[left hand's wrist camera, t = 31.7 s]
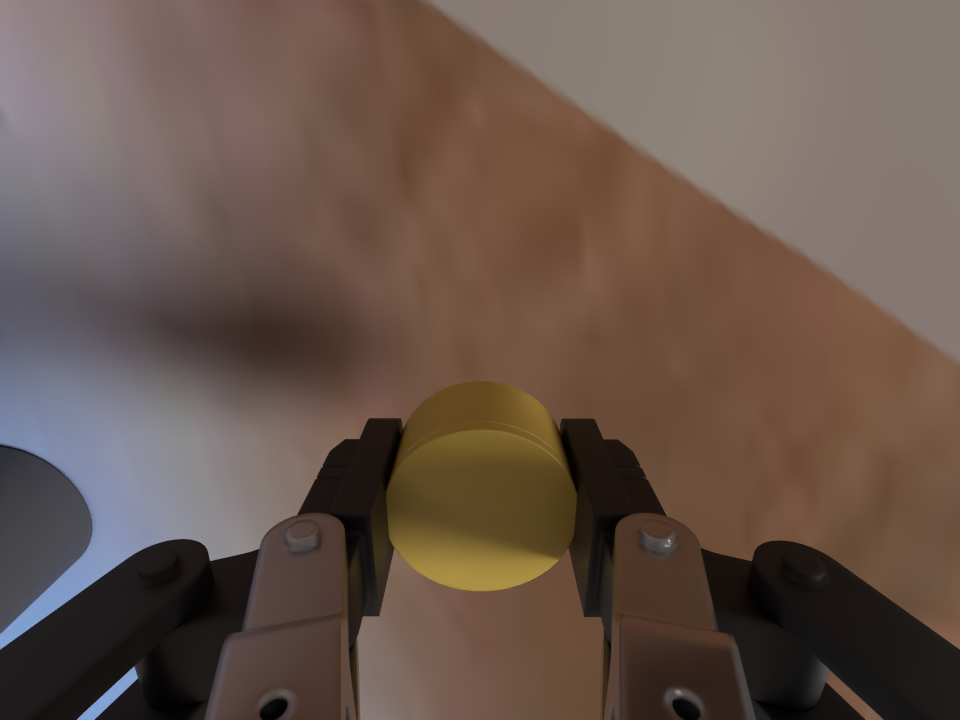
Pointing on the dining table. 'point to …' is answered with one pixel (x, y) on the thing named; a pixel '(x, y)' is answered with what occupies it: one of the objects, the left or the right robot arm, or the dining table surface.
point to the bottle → (36, 530)
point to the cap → (481, 489)
